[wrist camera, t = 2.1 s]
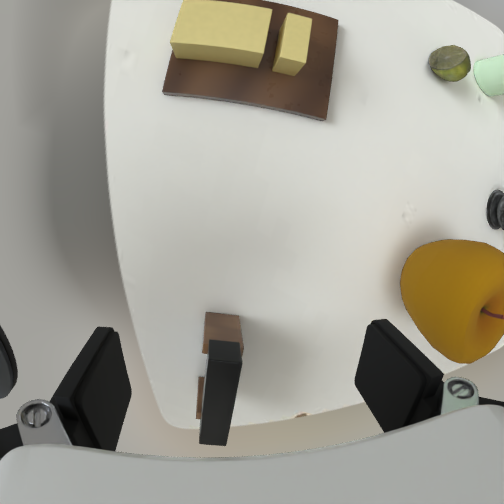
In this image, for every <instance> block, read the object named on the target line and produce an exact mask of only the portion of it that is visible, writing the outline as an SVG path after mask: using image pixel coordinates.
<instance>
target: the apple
mask: <svg viewBox="0 0 504 504" xmlns="http://www.w3.org/2000/svg"><path fill="white" fill-rule="evenodd" d="M400 287H401V295H402V300H403V302H404V305H405V308H406V310H407V311H408V313H409V315H410V316H411V318H412V320H413V321H414V323H415V325H416V326H417V328H418V329H419V331H420V332H421V333H422V334H423V336H424V337H425V338H426V339H427V341H428V342H429V343H430V344H431V346H432V347H433V348H435V349H436V350H437V351H439V352H440V353H441V354H443V355H444V356H445V357H446V358H448V359H449V360H451V361H454V362H457V363H467V364H470V363H472V362H474V361H476V360H478V359H480V358H482V357H484V356H486V355H487V354H488V353H489V352H490V351H491V350H492V349H493V348H494V347H495V346H496V344H497V343H498V342H499V340H500V339H501V337H502V336H503V334H504V253H503V252H501V251H500V250H498V249H496V248H494V247H493V246H491V245H489V244H487V243H482V242H476V241H469V240H451V239H448V240H440V241H435V242H431V243H428V244H425V245H423V246H421V247H419V248H417V249H416V250H415V251H414V252H413V253H412V254H411V255H410V256H409V257H408V258H407V260H406V263H405V265H404V267H403V269H402V274H401V280H400Z"/></svg>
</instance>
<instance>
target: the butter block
mask: <svg viewBox="0 0 504 504" xmlns="http://www.w3.org/2000/svg"><path fill="white" fill-rule="evenodd" d="M271 15H272V9H269V8H263V7H258V6H252V5H246V4H239V3H231V2H223V1H213V0H183V3H182V5H181V8H180V11H179V14H178V17H177V21H176V24H175V27H174V30H173V34H172V37H171V40H170V44H171V46H172V49H173V52H174V54H175V57H176V58H181V59H193V60H204V61H213V62H221V63H228V64H235V65H242V66H248V67H253V68H258V67H259V64H260V62H261V59H262V57H263V54H264V50H265V45H266V40H267V35H268V30H269V25H270V20H271Z"/></svg>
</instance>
